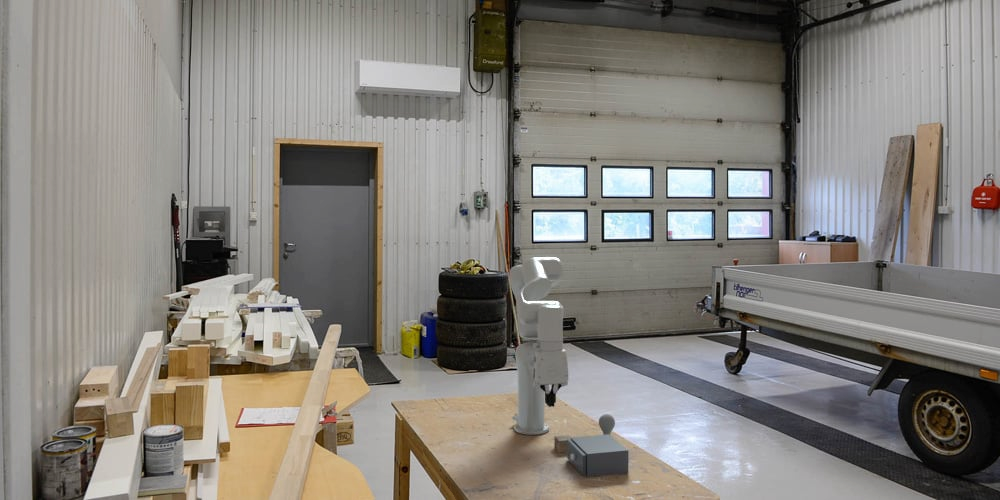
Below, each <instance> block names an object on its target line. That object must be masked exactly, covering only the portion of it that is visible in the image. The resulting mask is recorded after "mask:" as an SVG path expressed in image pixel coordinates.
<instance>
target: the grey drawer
mask: <svg viewBox="0 0 1000 500" xmlns="http://www.w3.org/2000/svg"><path fill="white" fill-rule="evenodd" d="M566 459H567V460H568V461H569V462H570V463H571V465H573V466H574V468H575V469H577V471H578V472H579V473H580V475H582V477H583V476H584V477H585V475H586V455H585V454H584V453H583V452H582V451H581V450H580V449H579V448H578V447H577V446H576V445H575V444H574V443H573V442H572V441H571V440H570V439H567V452H566Z"/></svg>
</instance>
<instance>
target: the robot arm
mask: <svg viewBox="0 0 1000 500" xmlns="http://www.w3.org/2000/svg"><path fill="white" fill-rule="evenodd" d="M564 273H565V272H564V265H563V262H562V261H561V260H560V259H559V258H557V257H554V256H551V257H550V256H545V257H539V256H538V257H536V256H535V257H530V258H527V259H525V260H524V261H523V262H522V264H518V265H514V266H512V267H511V268H510V270H509V275H508V276H509V284H510V288H511V291H512V294H513V295H514V297H515V301H516V302H515V306H516V314H517V315H516V316H517V317H516V318H517V330H518V335H519V337H520V338H522V339H524V340H536V342H524V343H521V344H519V345H518V346H517V347H516V349H515V354H514V355H515V362H516V369H517V397H518V398H517V402H518V403H517V405H518V407H517V409H518V411H517V412H516V413H514V415H513V416H512V417H511V419H512V420H513V421H516V423H515V425H514V426H513V429H514V431H515V432H517V433H518V434H522V435H529V436H534V435H535V436H537V435H542V434H546V433H547V432H548V431H549V430H550V426H549V425H548V424H547V423H545V421H546V420H545V419H546V418H545V405H546V406H548V407H549V408H552V407H553V408H554V407H555V404H556V403H557V393H558V391H559V390H560V389H561V388H563V387H566V386H568V384H569V383H568V382H569V365H568V357H567V352H566V349H564V338H563V334H564V333H563V332H564V331H563V330H564V328H563V326H564V325H563V324H564V321H563V319H564V315H565V311H564V306H563V305H562V304H561V302H559V301H556V300H542V299H544V298H545V297H547V296H548V295H550V292H551V290H552V288H553V287H556V286H557V285H558V284H560V282H562V280H563V277H564ZM550 385H551V386H550ZM550 387H551V388H550Z"/></svg>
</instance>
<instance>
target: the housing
mask: <svg viewBox="0 0 1000 500" xmlns="http://www.w3.org/2000/svg"><path fill="white" fill-rule="evenodd" d="M570 437H571V436H570ZM571 441H572V442H573V443H574V444H575V445H576V446H577V447H578V448H579V449H580V450H581V451H582V452H583V453H584V454H585V455H586V475H584V477H586V478H594V477H604V476H607V477H608V476H614V475H615V476H616V475H625V474H629V449H628V448H627V447H625V446H624V445H623V444H622V443H621V442H619V441H618V440H617V439H616V438H614V437H613V436H612V435H611V433H610V434H607V435H603V434H597V435H596V434H595V435H584V436H573V437H571Z"/></svg>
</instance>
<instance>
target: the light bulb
mask: <svg viewBox="0 0 1000 500" xmlns="http://www.w3.org/2000/svg"><path fill="white" fill-rule="evenodd" d="M598 425H599V428H600V430H601V431H602V433H603V434H602V435H607V434H610V435H611V433H612V431H613V430H614V428H615V425H616V420H615V418H614V417H613V416H612V415H611V414H609V413H608V414H607V413H606V414H605V413H604V414H602V415H601V416H600V417H599V418H598Z"/></svg>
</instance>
